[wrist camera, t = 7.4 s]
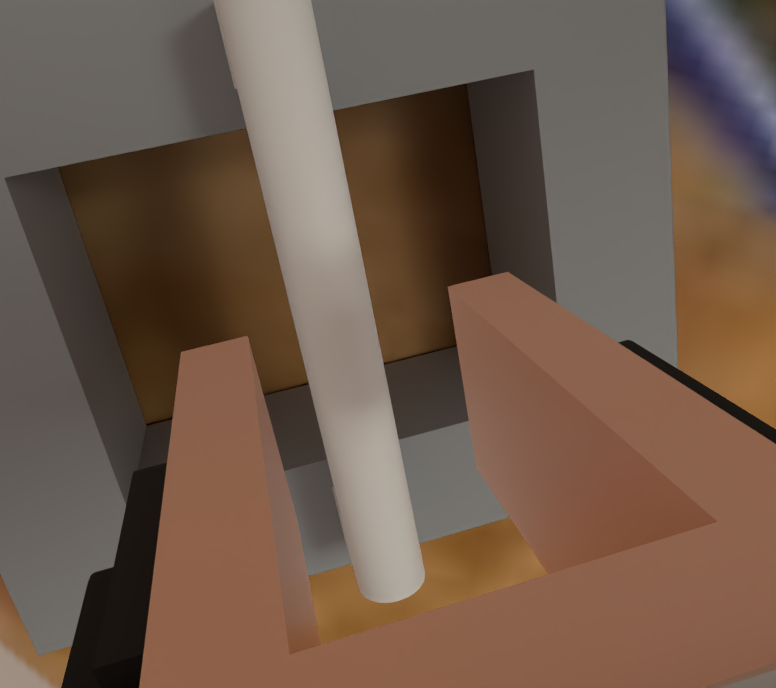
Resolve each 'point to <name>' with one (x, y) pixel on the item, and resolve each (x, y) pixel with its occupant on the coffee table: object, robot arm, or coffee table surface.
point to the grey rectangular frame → (311, 249)
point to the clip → (520, 501)
